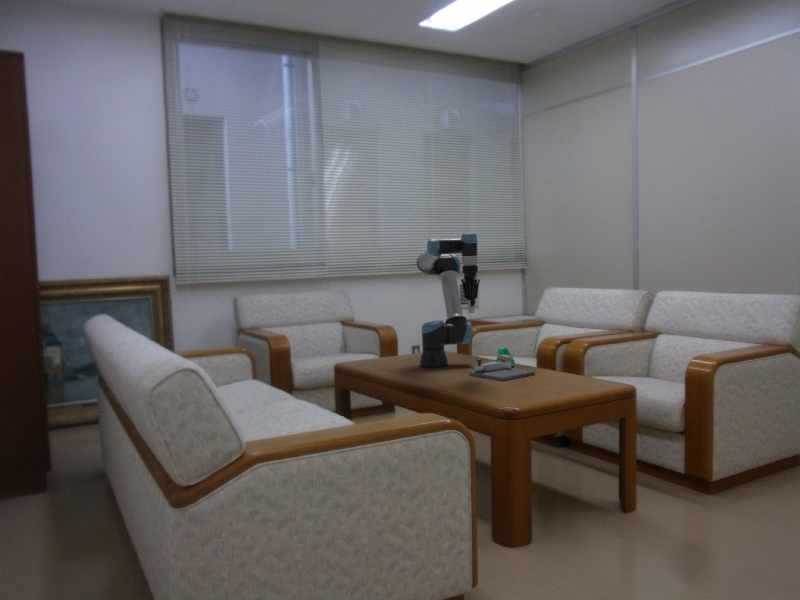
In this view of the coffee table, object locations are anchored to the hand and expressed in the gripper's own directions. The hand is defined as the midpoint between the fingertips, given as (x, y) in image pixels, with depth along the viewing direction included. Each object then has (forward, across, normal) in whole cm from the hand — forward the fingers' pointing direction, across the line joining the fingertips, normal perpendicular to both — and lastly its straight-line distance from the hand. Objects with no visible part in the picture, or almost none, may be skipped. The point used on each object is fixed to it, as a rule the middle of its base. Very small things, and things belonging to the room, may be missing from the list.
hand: (471, 312), depth 325 cm
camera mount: (+30, +4, -20) cm, 36 cm away
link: (+28, -9, -5) cm, 29 cm away
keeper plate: (+29, -15, -6) cm, 34 cm away
